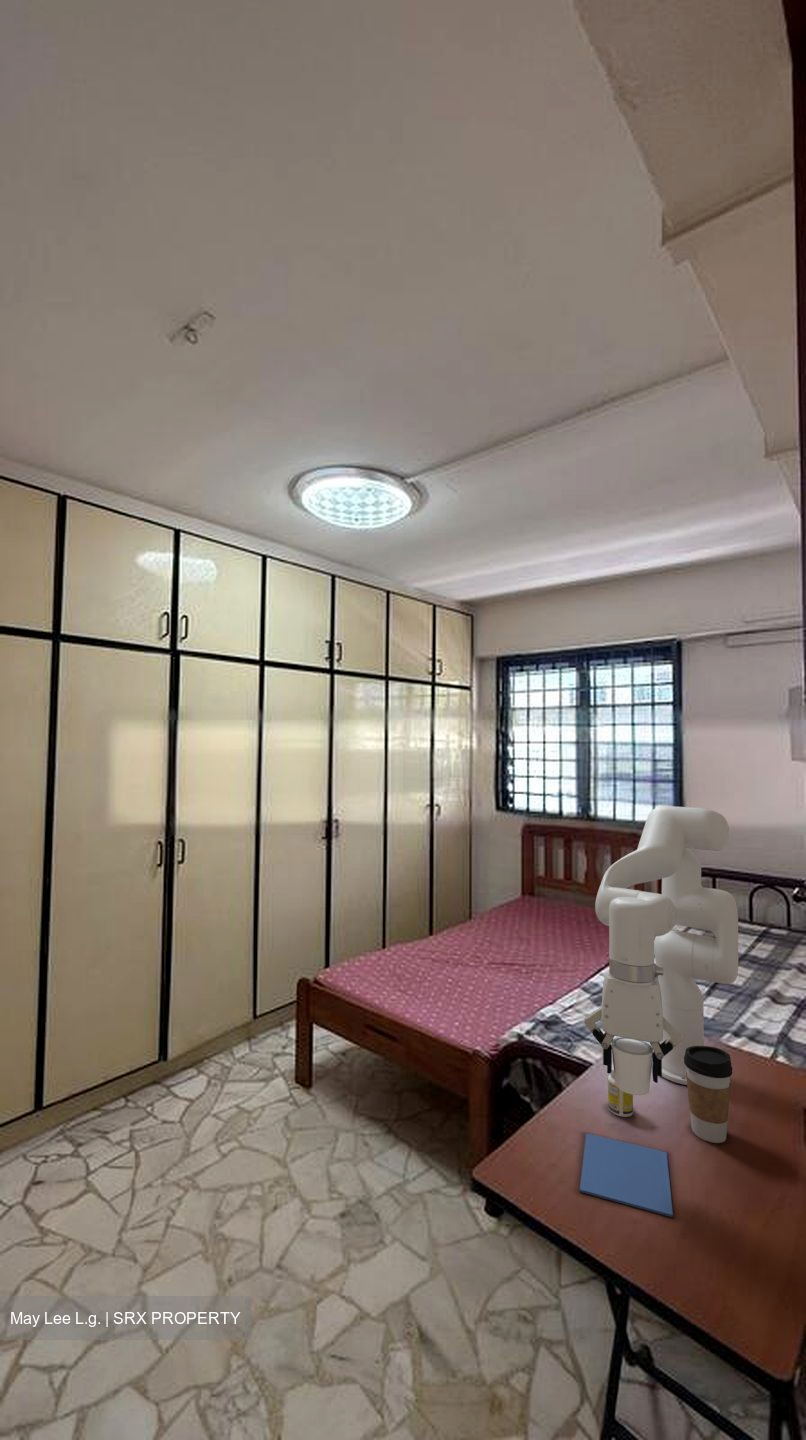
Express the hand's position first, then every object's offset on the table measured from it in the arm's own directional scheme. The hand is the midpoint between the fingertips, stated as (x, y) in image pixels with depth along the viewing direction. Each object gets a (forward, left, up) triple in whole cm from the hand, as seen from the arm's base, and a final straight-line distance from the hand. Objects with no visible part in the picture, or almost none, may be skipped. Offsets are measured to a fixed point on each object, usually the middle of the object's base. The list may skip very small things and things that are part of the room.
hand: (631, 1073), depth 102 cm
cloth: (+1, -1, -16) cm, 16 cm away
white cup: (0, 0, -2) cm, 2 cm away
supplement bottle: (-18, -2, -17) cm, 25 cm away
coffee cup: (-17, +14, -17) cm, 28 cm away
